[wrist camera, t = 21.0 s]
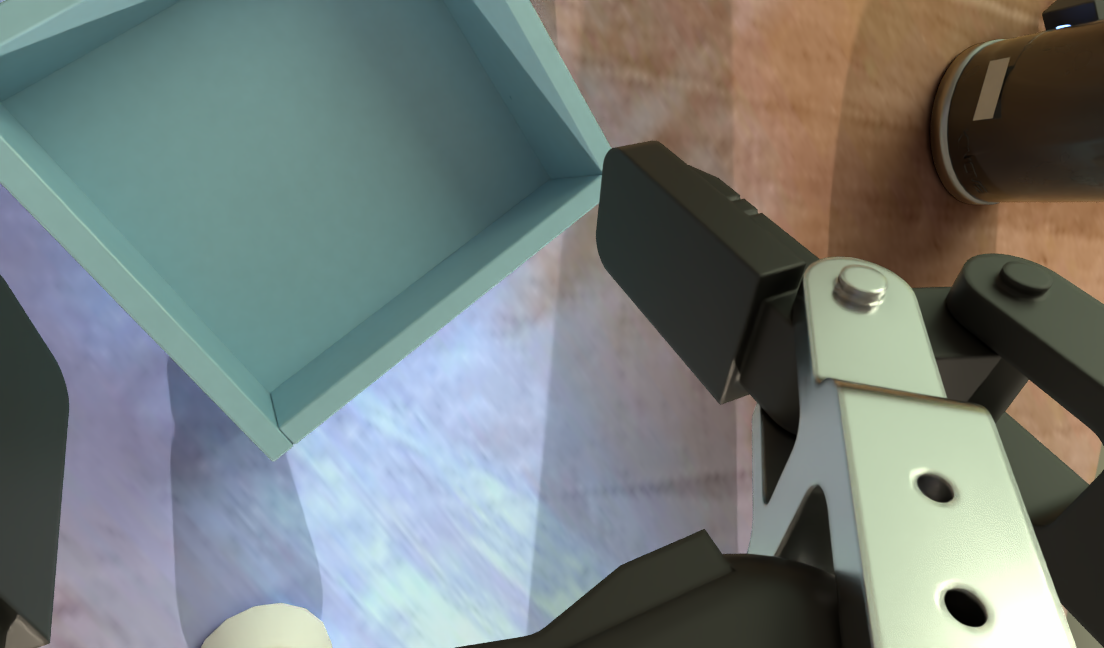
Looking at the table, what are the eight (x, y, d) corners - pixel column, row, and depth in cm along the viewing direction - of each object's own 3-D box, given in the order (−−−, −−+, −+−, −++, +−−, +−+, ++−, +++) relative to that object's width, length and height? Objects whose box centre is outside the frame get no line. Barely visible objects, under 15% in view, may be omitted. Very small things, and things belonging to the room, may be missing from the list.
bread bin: (376, -135, 24) (411, -215, 20) (567, 184, 29) (629, 179, 25) (-40, 96, 20) (-118, 63, 16) (264, 418, 25) (273, 463, 21)
